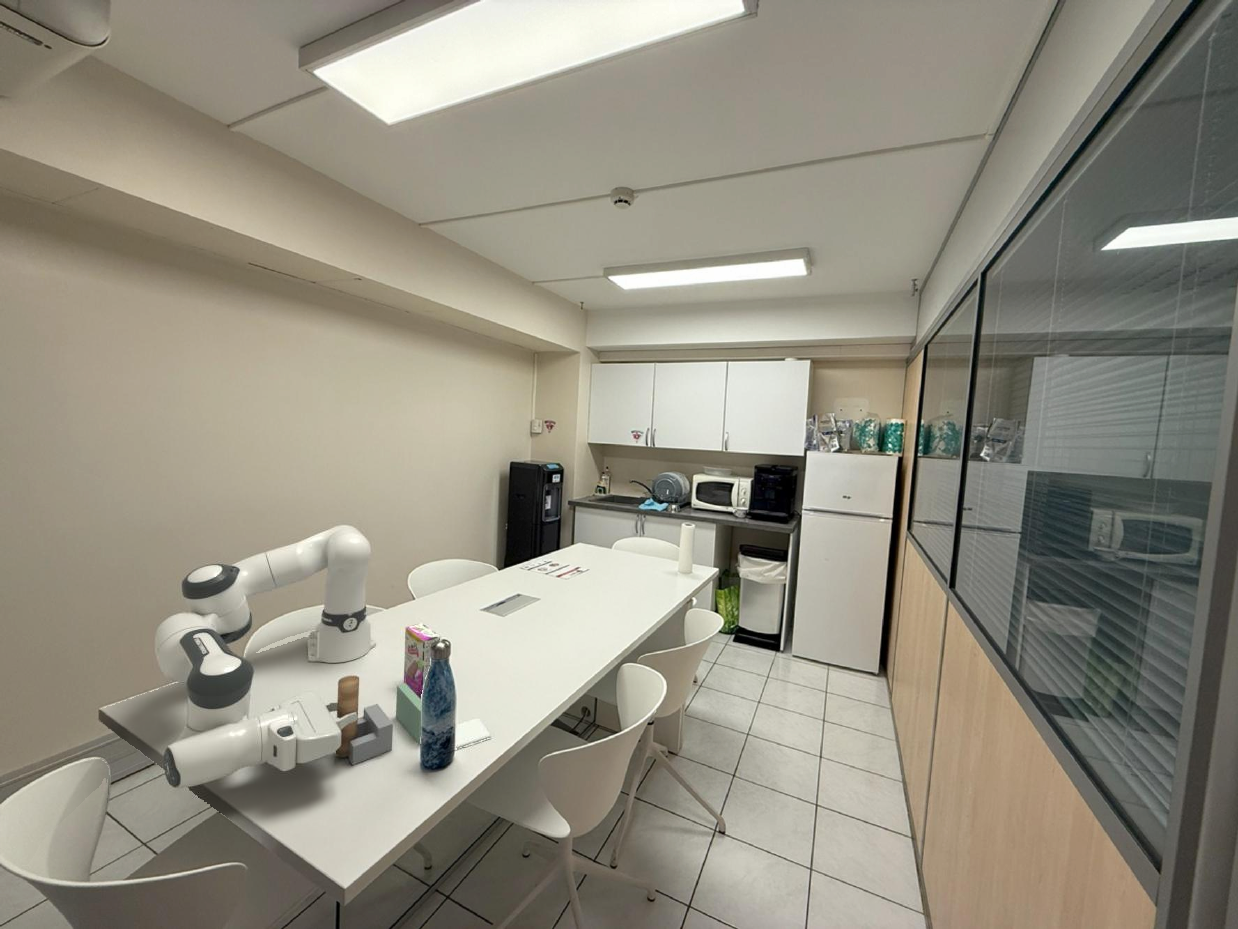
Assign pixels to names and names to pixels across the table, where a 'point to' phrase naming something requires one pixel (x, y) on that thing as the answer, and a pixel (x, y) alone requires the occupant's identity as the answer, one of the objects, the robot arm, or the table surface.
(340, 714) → the dowel
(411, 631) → the candy bar box
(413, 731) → the wall
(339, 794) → the table surface
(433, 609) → the table surface
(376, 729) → the block
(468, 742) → the external hard drive
